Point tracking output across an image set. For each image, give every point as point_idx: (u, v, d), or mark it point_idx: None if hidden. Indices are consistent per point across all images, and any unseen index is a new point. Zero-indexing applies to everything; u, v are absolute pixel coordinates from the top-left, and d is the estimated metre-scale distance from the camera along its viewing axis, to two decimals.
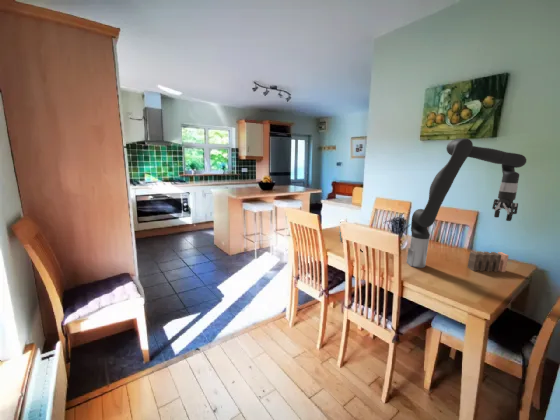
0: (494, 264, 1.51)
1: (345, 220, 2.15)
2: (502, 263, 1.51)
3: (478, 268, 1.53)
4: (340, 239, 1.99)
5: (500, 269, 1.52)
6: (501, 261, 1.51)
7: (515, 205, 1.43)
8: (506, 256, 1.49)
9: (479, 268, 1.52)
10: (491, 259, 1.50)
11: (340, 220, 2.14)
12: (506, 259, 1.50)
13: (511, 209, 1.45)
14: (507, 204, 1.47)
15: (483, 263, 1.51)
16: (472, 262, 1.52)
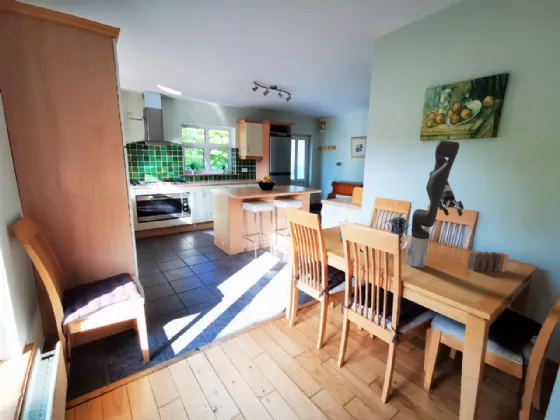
0: (494, 264, 1.51)
1: (345, 220, 2.15)
2: (501, 263, 1.51)
3: (478, 268, 1.53)
4: (340, 239, 1.99)
5: (500, 269, 1.52)
6: (501, 261, 1.51)
7: None
8: (506, 256, 1.49)
9: (479, 268, 1.52)
10: (491, 259, 1.50)
11: (340, 220, 2.14)
12: (506, 259, 1.50)
13: (461, 205, 1.65)
14: (455, 202, 1.66)
15: (483, 263, 1.51)
16: (472, 262, 1.52)
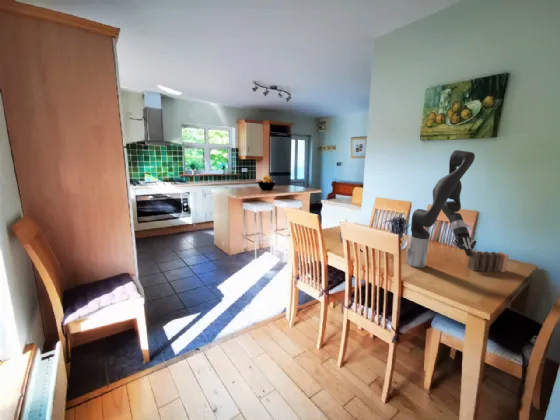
0: (494, 264, 1.51)
1: (345, 220, 2.15)
2: (502, 263, 1.51)
3: (478, 268, 1.53)
4: (340, 239, 1.99)
5: (500, 269, 1.52)
6: (501, 261, 1.51)
7: None
8: (506, 256, 1.49)
9: (479, 268, 1.52)
10: (491, 259, 1.50)
11: (340, 220, 2.14)
12: (506, 259, 1.50)
13: (473, 244, 1.54)
14: (469, 240, 1.55)
15: (483, 263, 1.51)
16: (472, 262, 1.52)
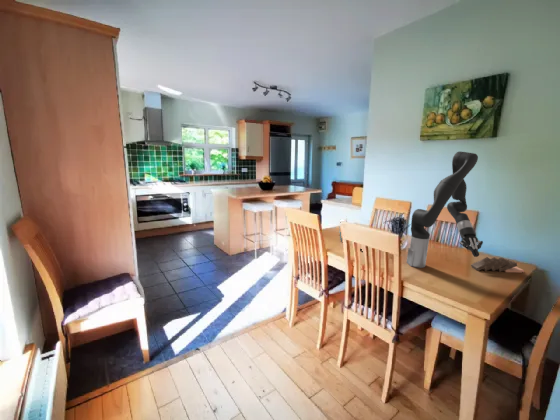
0: None
1: (345, 220, 2.15)
2: (513, 269, 1.52)
3: None
4: (340, 239, 1.99)
5: None
6: (513, 269, 1.52)
7: None
8: (522, 271, 1.51)
9: None
10: (504, 264, 1.51)
11: (340, 220, 2.14)
12: None
13: (479, 245, 1.54)
14: (476, 241, 1.55)
15: (492, 266, 1.51)
16: (482, 263, 1.52)
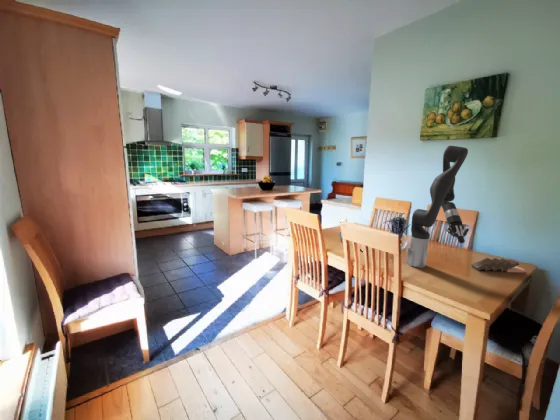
0: None
1: (345, 220, 2.14)
2: (514, 269, 1.52)
3: None
4: (340, 239, 1.99)
5: None
6: (515, 268, 1.52)
7: None
8: (523, 271, 1.51)
9: None
10: (505, 265, 1.50)
11: (340, 220, 2.14)
12: (520, 271, 1.51)
13: (465, 232, 1.59)
14: (462, 228, 1.60)
15: (493, 266, 1.51)
16: (482, 263, 1.52)
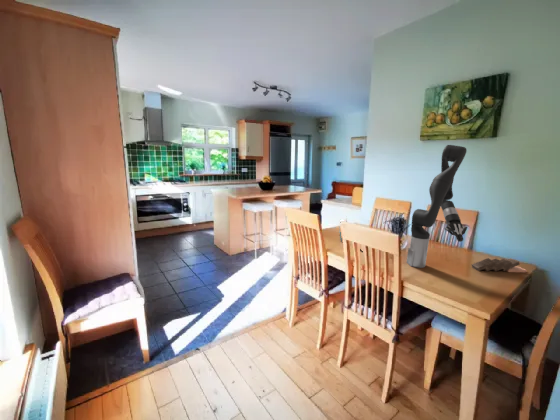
0: None
1: (345, 220, 2.15)
2: (516, 269, 1.52)
3: None
4: (340, 239, 1.99)
5: None
6: (516, 268, 1.53)
7: None
8: (525, 271, 1.51)
9: None
10: (507, 265, 1.51)
11: (340, 220, 2.14)
12: None
13: (464, 230, 1.59)
14: (460, 227, 1.61)
15: (493, 266, 1.51)
16: (482, 263, 1.52)
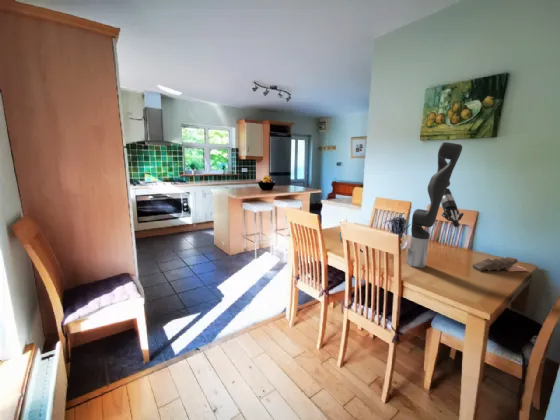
0: None
1: (345, 220, 2.15)
2: (516, 268, 1.53)
3: None
4: (340, 239, 1.99)
5: (510, 268, 1.53)
6: (517, 268, 1.53)
7: (462, 215, 1.65)
8: (525, 270, 1.52)
9: None
10: (507, 264, 1.52)
11: (340, 220, 2.14)
12: None
13: (460, 216, 1.63)
14: (457, 213, 1.65)
15: (495, 267, 1.51)
16: (484, 264, 1.52)
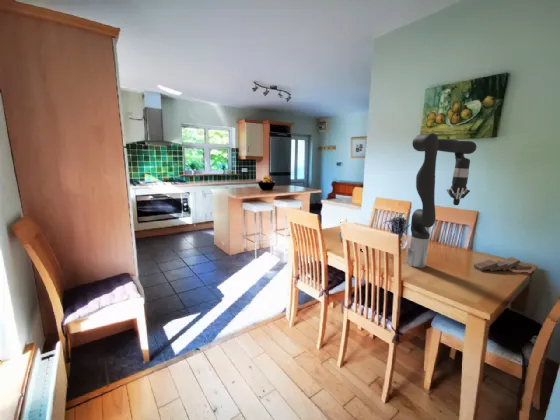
0: (521, 265, 1.52)
1: (345, 220, 2.15)
2: None
3: None
4: (340, 239, 1.99)
5: (513, 269, 1.52)
6: None
7: None
8: (530, 272, 1.51)
9: None
10: (515, 263, 1.51)
11: (340, 220, 2.14)
12: None
13: (464, 194, 1.58)
14: (463, 190, 1.58)
15: (498, 267, 1.51)
16: (485, 264, 1.52)
